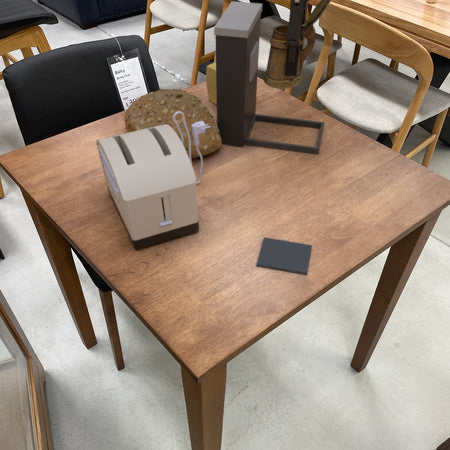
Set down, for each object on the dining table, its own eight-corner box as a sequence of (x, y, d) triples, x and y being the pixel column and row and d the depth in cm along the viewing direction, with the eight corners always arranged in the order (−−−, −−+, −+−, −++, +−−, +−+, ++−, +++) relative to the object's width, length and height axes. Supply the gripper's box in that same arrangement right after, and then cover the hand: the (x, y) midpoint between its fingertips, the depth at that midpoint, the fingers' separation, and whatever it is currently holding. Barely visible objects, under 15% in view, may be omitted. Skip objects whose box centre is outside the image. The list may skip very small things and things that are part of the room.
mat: (311, 247, 90) (311, 245, 90) (306, 275, 85) (307, 272, 85) (263, 239, 91) (263, 237, 91) (256, 266, 87) (256, 264, 86)
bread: (119, 130, 119) (110, 85, 109) (191, 112, 125) (188, 68, 116) (151, 177, 105) (144, 131, 96) (230, 154, 111) (230, 109, 102)
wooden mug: (321, 90, 102) (334, 0, 89) (263, 88, 103) (268, 0, 89) (318, 73, 108) (331, -13, 94) (264, 72, 109) (268, -14, 95)
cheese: (232, 89, 134) (232, 54, 126) (257, 102, 128) (258, 66, 121) (206, 100, 129) (205, 65, 121) (231, 114, 124) (231, 78, 116)
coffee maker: (324, 124, 121) (345, 10, 99) (317, 157, 110) (339, 38, 89) (230, 113, 125) (231, 1, 103) (216, 144, 114) (214, 27, 93)
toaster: (105, 190, 102) (86, 120, 88) (204, 165, 108) (201, 95, 95) (134, 255, 89) (117, 183, 75) (244, 221, 95) (248, 150, 82)
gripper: (293, -68, 92) (283, 49, 110) (278, -42, 80) (269, 85, 98) (329, -66, 91) (313, 52, 109) (319, -40, 79) (303, 88, 97)
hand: (292, 67), depth 103 cm, fingers closed on wooden mug, 7 cm apart
